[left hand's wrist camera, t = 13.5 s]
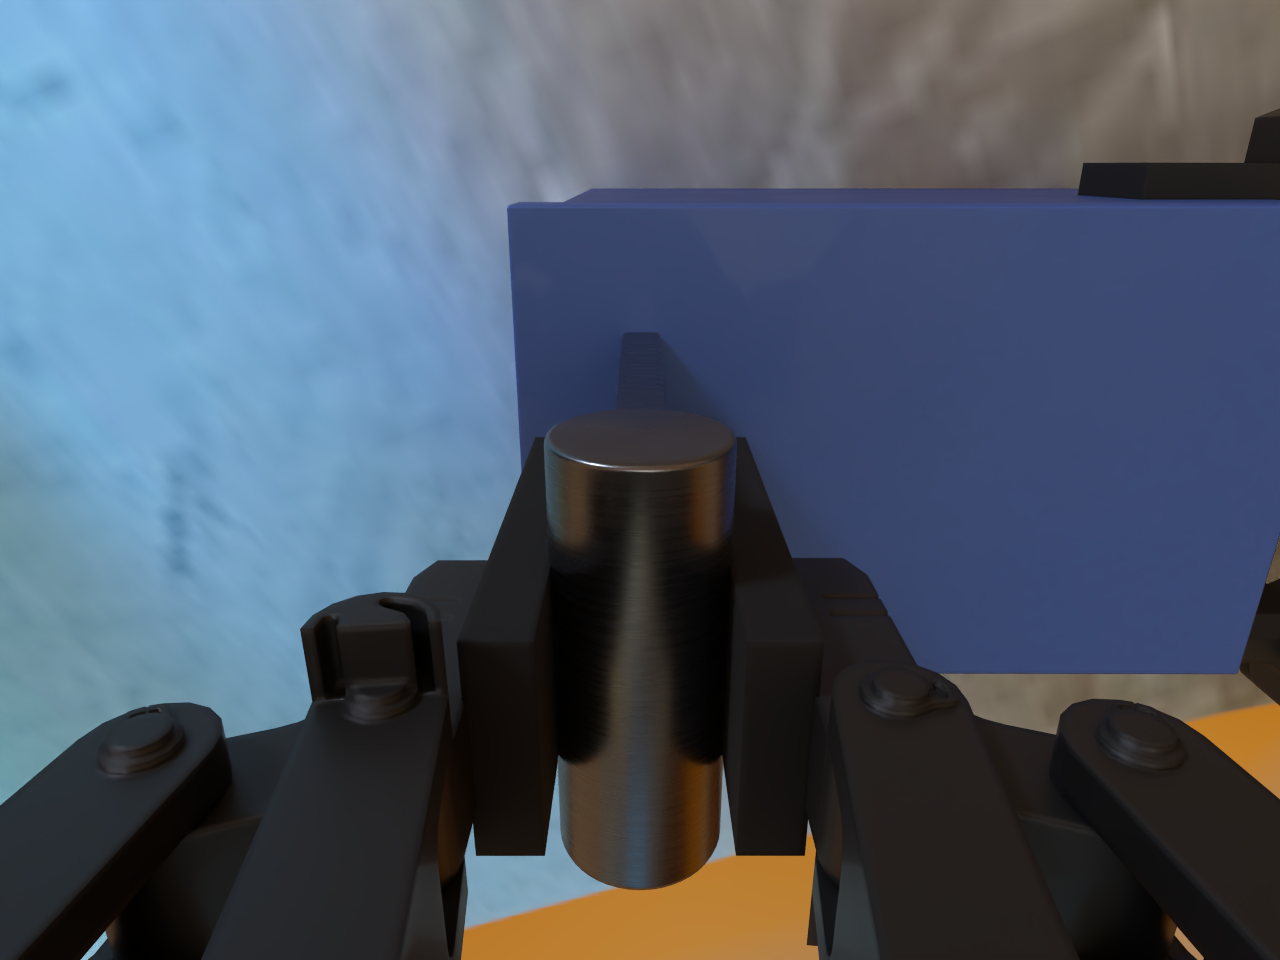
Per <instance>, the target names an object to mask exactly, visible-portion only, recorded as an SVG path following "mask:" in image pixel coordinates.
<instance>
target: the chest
mask: <svg viewBox="0 0 1280 960" xmlns="http://www.w3.org/2000/svg"><path fill="white" fill-rule="evenodd" d="M1078 191H1079V189H590V190H588V191H586V192H584V193H582V194H580V195H578V196H576V197H574V198H572V199H569V200H567V201H565V202H922V203H1280V200H1140V199H1125V198H1111V197H1096V196H1082V195H1078Z"/></svg>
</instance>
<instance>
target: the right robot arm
mask: <svg viewBox="0 0 1280 960" xmlns="http://www.w3.org/2000/svg"><path fill="white" fill-rule="evenodd" d="M1078 195H1082V196H1096V197H1111V198H1125V199H1140V200H1280V109H1277V110H1275V111H1272V112H1270V113H1267V114H1265V115H1262V116H1259V117H1257V118H1255V121H1254V125H1253V129H1252V134H1251V138H1250V142H1249V146H1248V150H1247V154H1246V158H1245V162H1244V163H1083V169H1082V174H1081V180H1080V185H1079V191H1078ZM1239 668H1240V671H1241V673H1243V674H1244V675H1245V676H1246V677H1247V678H1248V679H1249V680H1251V681H1252V682H1253V683H1254V684H1255V685H1256V686H1257V687H1258V688H1260V689H1261V690H1262V691H1263V692H1264V693H1266V694H1267V695H1268V696H1269V697H1270V698H1271V699H1273V700H1274V701H1275V702H1276V703H1277V704H1279V705H1280V579H1278V580H1276V581H1273V582H1271V583H1269V584H1266V583H1265V585H1264V589H1263V592H1262V595H1261V599H1260V602H1259V605H1258V608H1257V612H1256V615H1255V618H1254V621H1253V625H1252V628H1251V631H1250V635H1249V638H1248V641H1247V644H1246V648H1245V651H1244V654H1243V658H1242V661H1241V664H1240V667H1239Z"/></svg>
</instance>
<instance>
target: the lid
mask: <svg viewBox="0 0 1280 960" xmlns="http://www.w3.org/2000/svg"><path fill="white" fill-rule="evenodd" d="M507 213H508V232H509V250H510V268H511V287H512V305H513V324H514V342H515V360H516V379H517V397H518V415H519V434H520V452H521V470H523V468H524V465H525V463H526V460H527V457H528V455H529V452H530V450H531V447H532V444H533V442H534V439H535V437H545V440H544V459H545V482H546V505H547V528H548V551H549V562H550V567H551V590H552V614H553V637H554V660H555V683H556V706H557V729H558V753H559V756H558V780H559V803H560V826H561V836H562V841H563V844H564V847H565V849H566V850H567V852H568V854H569V856H570V857H571V858H572V860H573V861H574V862H575V864H576V865H577V866H578V867H579V868H580V869H581V870H582V871H584V872H585V873H586V874H588V875H589V876H591V877H593V878H594V879H596V880H598V881H600V882H603V883H605V884H607V885H611V886H614V887H618V888H624V889H632V890H650V889H657V888H663V887H666V886H670V885H673V884H676V883H678V882H680V881H683V880H684V879H686V878H688V877H690V876H691V875H693V874H694V873H695V872H697V871H698V870H699V869H700V868H701V867H702V866H703V865H704V864H705V863H706V862H707V861H708V859H709V858H710V857H711V855H712V854H713V852H714V850H715V848H716V846H717V843H718V840H719V833H720V817H721V794H722V772H723V757H722V748H723V725H724V702H725V679H726V656H727V633H728V611H729V588H730V566H731V562H732V547H733V524H734V502H735V479H736V457H737V440H736V437H746V439H747V442H748V445H749V447H750V450H751V452H752V455H753V458H754V460H755V463H756V465H757V468H758V471H759V473H760V476H761V479H762V481H763V484H764V486H765V489H766V492H767V494H768V497H769V499H770V502H771V505H772V507H773V510H774V512H775V515H776V518H777V520H778V523H779V525H780V528H781V531H782V533H783V536H784V538H785V541H786V544H787V546H788V549H789V551H790V554H791V557H792V558H844V559H846V560H847V561H849V562H850V563H851V564H853V565H854V566H856V567H857V568H858V569H860V570H861V571H863V572H864V573H866V574H867V575H868V577H869V578H870V580H871V582H872V584H873V586H874V588H875V589H876V591H877V593H878V595H879V599H881V600H882V602H883V604H884V606H885V607H886V609H887V611H888V616H891V618H892V620H893V622H894V624H895V626H896V627H897V629H898V631H899V633H900V635H901V636H902V638H903V640H904V642H905V644H906V645H907V647H908V649H909V651H910V653H911V654H912V656H913V658H914V660H915V662H916V664H917V665H918V666H921V667H923V668H926V669H929V670H931V671H934V672H937V673H952V674H1237V673H1238V671H1239V667H1240V664H1241V661H1242V658H1243V654H1244V651H1245V648H1246V644H1247V641H1248V638H1249V635H1250V631H1251V628H1252V625H1253V621H1254V618H1255V615H1256V612H1257V608H1258V605H1259V602H1260V599H1261V595H1262V592H1263V589H1264V585H1265V582H1266V579H1267V576H1268V572H1269V569H1270V566H1271V562H1272V559H1273V556H1274V553H1275V549H1276V546H1277V543H1278V539H1279V536H1280V203H922V202H519V203H515V204H512V205H509V206H508V208H507Z"/></svg>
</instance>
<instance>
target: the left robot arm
mask: <svg viewBox="0 0 1280 960" xmlns="http://www.w3.org/2000/svg"><path fill="white" fill-rule="evenodd" d="M544 440H545V437H535V439H534V442H533V444H532V447H531V450H530V452H529V455H528V457H527V460H526V463H525V465H524V468H523V470H522V473H521V476H520V478H519V481H518V483H517V486H516V489H515V491H514V494H513V496H512V499H511V502H510V504H509V507H508V509H507V512H506V515H505V517H504V520H503V522H502V525H501V528H500V530H499V533H498V535H497V538H496V541H495V543H494V546H493V548H492V551H491V554H490V556H489V559H488V560H438V561H436V562H435V563H434V564H432V565H431V566H429V567H428V568H427V569H425V570H424V571H422V572H421V573H420V574H418V575H417V576H415V577H414V578H413V580H412V582H411V583H410V585H409V587H408V589H407V591H406V593H391V592H381V593H374V594H367V595H360V596H356V597H352V598H349V599H346V600H343V601H340V602H337V603H334V604H332V605H330V606H328V607H326V608H325V609H323V610H321V611H319V612H318V613H316V614H314V615H312V617H311V618H310V619H309V620H308V621H307V622H306V623H305V624H304V625H303V627H302V628H301V629H300V631H301V637H302V643H303V649H304V654H305V660H306V666H307V672H308V678H309V684H310V690H311V696H312V704H311V706H310V709H309V711H308V713H307V716H306V718H305V720H302V721H300V722H297V723H293V724H290V725H286V726H282V727H279V728H275V729H270V730H265V731H260V732H255V733H250V734H245V735H240V736H235V737H230V738H225V733H224V729H223V724H222V720H221V718H220V717H219V716H218V715H217V714H216V713H215V712H214V711H213V710H212V709H211V708H209V707H205V706H201V705H197V704H193V703H164V704H157V705H151V706H149V707H142V708H139V709H135V710H132V711H129V712H127V713H126V714H123V715H121V716H119V717H116V718H114V719H112V720H109V721H107V722H105V723H102V724H101V725H99V726H98V727H96V728H95V729H93V730H92V731H90V732H89V733H87V734H86V735H84V736H83V737H81V738H80V739H78V740H77V741H76V742H75V743H74V744H72V745H71V746H70V747H69V748H68V749H67V750H65V751H64V752H63V753H62V754H61V755H59V756H58V757H57V758H56V759H55V760H54V761H52V762H51V763H50V764H49V765H48V766H46V767H45V768H44V769H43V770H42V771H41V772H39V773H38V774H37V775H36V776H35V777H33V778H32V779H31V780H30V781H29V782H28V783H26V784H25V785H24V786H23V787H22V788H20V789H19V790H18V791H17V792H16V793H15V794H13V795H12V796H11V797H10V798H9V799H7V800H6V801H5V802H4V803H3V804H2V805H0V960H81V959H82V957H83V956H84V955H85V954H86V953H87V951H88V950H89V949H90V948H91V947H92V946H93V944H94V943H95V942H96V941H97V940H98V939H99V937H100V936H101V935H102V934H103V933H104V932H105V931H106V934H107V937H108V939H107V940H106V941H105V942H104V943H103V945H102V946H101V947H100V948H99V949H98V951H97V952H96V953H95V954H94V955H93V956H92V957H90V958H89V959H88V960H461V952H462V943H463V934H464V924H465V915H466V905H467V896H468V887H467V877H466V867H465V857H464V855H465V851H466V847H467V844H468V840H469V836H470V832H471V828H472V824H473V827H474V838H475V849H476V856H545V850H546V843H547V836H548V828H549V821H550V814H551V807H552V799H553V792H554V785H555V778H556V770H557V763H558V756H559V753H558V729H557V706H556V683H555V660H554V637H553V614H552V590H551V567H550V562H549V551H548V528H547V505H546V482H545V459H544ZM736 440H737V457H736V479H735V502H734V524H733V547H732V562H731V566H730V588H729V611H728V633H727V656H726V679H725V702H724V725H723V748H722V757H723V764H724V772H725V779H726V786H727V793H728V801H729V808H730V815H731V822H732V830H733V837H734V844H735V851H736V856H804V855H805V847H806V836H807V825H808V820H809V824H810V828H811V832H812V836H813V840H814V843H815V848H816V857H815V868H814V877H813V888H812V898H811V908H810V918H809V928H808V938H807V945H813V946H818V951H819V960H1197V959H1196V958H1195V957H1194V956H1193V955H1191V954H1190V953H1189V952H1188V951H1187V950H1186V948H1185V947H1184V946H1183V945H1182V944H1181V943H1180V941H1179V940H1178V939H1177V938H1176V937H1175V935H1174V934H1175V931H1176V928H1177V927H1178V928H1179V929H1180V930H1181V931H1182V933H1183V934H1184V935H1185V936H1186V937H1187V938H1188V940H1189V941H1190V942H1191V943H1192V944H1193V945H1194V947H1195V948H1196V949H1197V950H1198V951H1199V952H1200V954H1201V955H1202V956H1203V957H1204V960H1280V799H1279V798H1278V797H1276V796H1275V795H1274V794H1273V793H1272V792H1270V791H1269V790H1268V789H1267V788H1266V787H1264V786H1263V785H1262V784H1261V783H1260V782H1259V781H1257V780H1256V779H1255V778H1254V777H1253V776H1251V775H1250V774H1249V773H1248V772H1246V771H1245V770H1244V769H1243V768H1242V767H1241V766H1239V765H1238V764H1237V763H1236V762H1235V761H1233V760H1232V759H1231V758H1230V757H1229V756H1228V755H1226V754H1225V753H1224V752H1223V751H1222V750H1220V749H1219V748H1218V747H1217V746H1216V745H1214V744H1213V743H1212V742H1211V741H1210V740H1208V739H1207V738H1206V737H1205V736H1203V735H1202V734H1200V733H1199V732H1197V731H1196V730H1194V729H1193V728H1191V727H1190V726H1188V725H1187V724H1185V723H1184V722H1182V721H1181V720H1179V719H1177V718H1175V717H1172V716H1170V715H1167V714H1165V713H1163V712H1160V711H1158V710H1156V709H1154V708H1152V707H1150V706H1146V705H1143V704H1139V703H1137V704H1135V703H1133V702H1130V701H1123V700H1109V699H1090V700H1086V701H1082V702H1078V703H1074V704H1072V705H1070V706H1069V707H1068V708H1067V709H1066V710H1065V711H1064V712H1063V713H1062V714H1061V715H1060V720H1059V724H1058V729H1057V733H1056V735H1054V734H1049V733H1044V732H1039V731H1034V730H1029V729H1024V728H1019V727H1014V726H1009V725H1005V724H1001V723H997V722H993V721H990V720H986V719H983V718H980V717H978V716H975V715H974V714H973V712H972V710H971V707H970V705H969V703H968V701H967V699H966V698H965V697H964V695H963V694H962V693H961V691H960V690H959V689H958V687H957V686H956V685H955V684H953V683H952V682H950V681H949V680H947V679H946V678H944V677H943V676H941V675H940V674H938V673H937V672H934V671H931V670H929V669H926V668H923V667H921V666H918V665H917V664H916V662H915V660H914V658H913V656H912V654H911V653H910V651H909V649H908V647H907V645H906V644H905V642H904V640H903V638H902V636H901V635H900V633H899V631H898V629H897V627H896V626H895V624H894V622H893V620H892V618H891V616H888V611H887V609H886V607H885V606H884V604H883V602H882V600H881V599H879V595H878V593H877V591H876V589H875V588H874V586H873V584H872V582H871V580H870V578H869V577H868V575H867V574H866V573H864V572H863V571H861V570H860V569H858V568H857V567H856V566H854V565H853V564H851V563H850V562H849V561H847V560H846V559H844V558H792V557H791V554H790V551H789V549H788V546H787V544H786V541H785V538H784V536H783V533H782V531H781V528H780V525H779V523H778V520H777V518H776V515H775V512H774V510H773V507H772V505H771V502H770V499H769V497H768V494H767V492H766V489H765V486H764V484H763V481H762V479H761V476H760V473H759V471H758V468H757V465H756V463H755V460H754V458H753V455H752V452H751V450H750V447H749V445H748V442H747V439H746V437H736Z"/></svg>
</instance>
